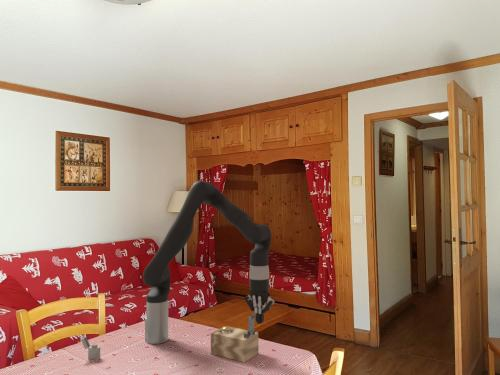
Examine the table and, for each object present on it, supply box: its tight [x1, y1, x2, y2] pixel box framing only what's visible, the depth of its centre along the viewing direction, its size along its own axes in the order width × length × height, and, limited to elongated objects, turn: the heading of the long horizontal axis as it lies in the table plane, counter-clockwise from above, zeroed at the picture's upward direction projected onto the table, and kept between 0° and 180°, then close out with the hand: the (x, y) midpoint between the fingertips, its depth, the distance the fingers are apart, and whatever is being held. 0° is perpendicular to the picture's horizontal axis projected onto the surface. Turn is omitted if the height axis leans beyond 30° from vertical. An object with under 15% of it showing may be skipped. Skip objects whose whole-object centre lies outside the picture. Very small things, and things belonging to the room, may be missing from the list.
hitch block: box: [210, 326, 260, 363], centre depth 150 cm, size 16×10×10 cm, turn 57°
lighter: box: [80, 336, 101, 360], centre depth 147 cm, size 7×2×8 cm, turn 85°
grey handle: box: [247, 313, 256, 336], centre depth 146 cm, size 8×4×1 cm
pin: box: [221, 325, 232, 334], centre depth 152 cm, size 3×3×10 cm
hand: (259, 323), depth 144 cm, fingers closed
